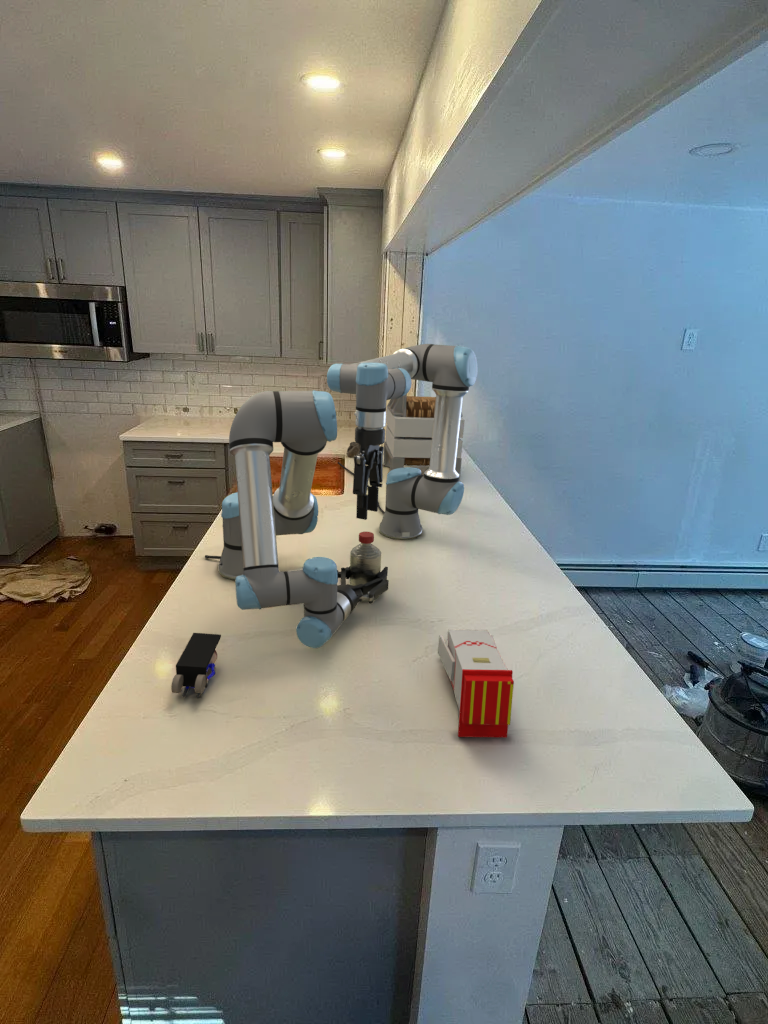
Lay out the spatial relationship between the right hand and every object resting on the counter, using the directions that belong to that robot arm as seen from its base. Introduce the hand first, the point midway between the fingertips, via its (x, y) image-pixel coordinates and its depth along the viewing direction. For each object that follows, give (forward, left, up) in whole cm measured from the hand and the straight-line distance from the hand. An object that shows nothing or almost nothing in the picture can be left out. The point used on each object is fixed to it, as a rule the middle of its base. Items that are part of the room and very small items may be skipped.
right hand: (367, 514), depth 148 cm
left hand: (-2, +4, -18) cm, 18 cm away
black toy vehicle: (+9, -52, -24) cm, 57 cm away
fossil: (-127, +98, -24) cm, 162 cm away
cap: (0, 0, -6) cm, 6 cm away
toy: (+46, -9, -24) cm, 53 cm away
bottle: (0, 0, -24) cm, 24 cm away
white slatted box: (-80, +99, -24) cm, 130 cm away
